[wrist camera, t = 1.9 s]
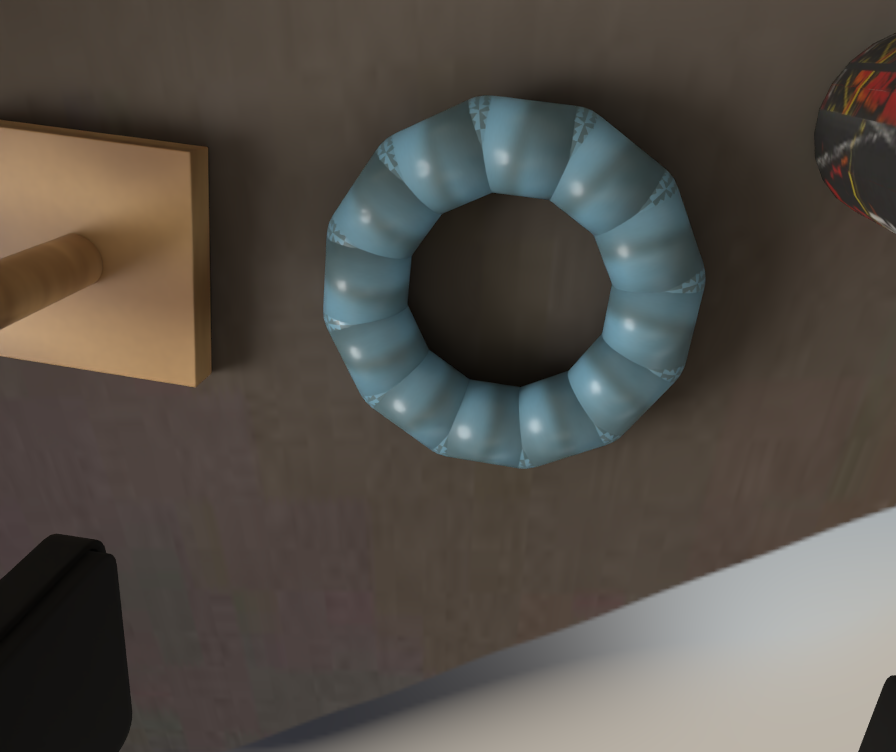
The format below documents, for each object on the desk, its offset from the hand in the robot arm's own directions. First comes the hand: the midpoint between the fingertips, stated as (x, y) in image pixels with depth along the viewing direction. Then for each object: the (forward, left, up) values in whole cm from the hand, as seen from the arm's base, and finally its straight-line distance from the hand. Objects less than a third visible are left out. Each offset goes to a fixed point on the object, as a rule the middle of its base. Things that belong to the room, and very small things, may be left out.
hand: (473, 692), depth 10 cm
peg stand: (+2, -17, -21) cm, 27 cm away
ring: (+1, -1, -19) cm, 19 cm away
